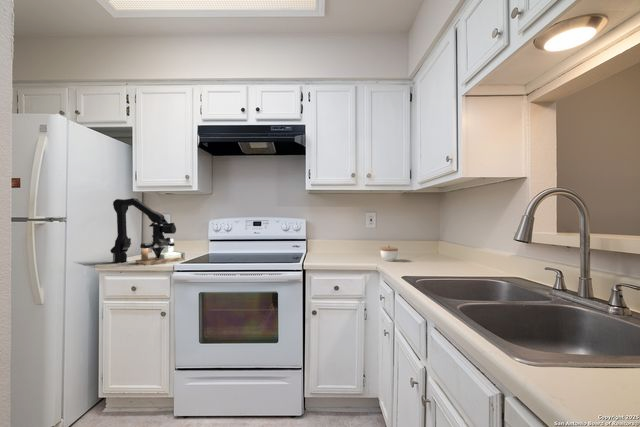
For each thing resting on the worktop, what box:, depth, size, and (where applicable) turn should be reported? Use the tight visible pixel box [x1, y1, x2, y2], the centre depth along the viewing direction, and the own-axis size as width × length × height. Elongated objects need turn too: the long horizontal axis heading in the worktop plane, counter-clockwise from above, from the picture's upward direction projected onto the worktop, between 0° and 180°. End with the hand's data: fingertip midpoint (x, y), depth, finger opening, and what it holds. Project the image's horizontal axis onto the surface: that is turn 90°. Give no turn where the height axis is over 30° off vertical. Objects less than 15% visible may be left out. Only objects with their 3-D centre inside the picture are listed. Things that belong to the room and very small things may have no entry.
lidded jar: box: [379, 245, 399, 262], centre depth 193 cm, size 11×11×9 cm
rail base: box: [135, 250, 186, 266], centre depth 194 cm, size 24×14×5 cm, turn 144°
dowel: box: [140, 248, 149, 259], centre depth 200 cm, size 4×4×8 cm
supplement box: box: [161, 238, 174, 253], centre depth 214 cm, size 7×7×13 cm
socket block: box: [155, 252, 181, 260], centre depth 198 cm, size 11×11×3 cm
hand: (157, 258), depth 192 cm, fingers closed
